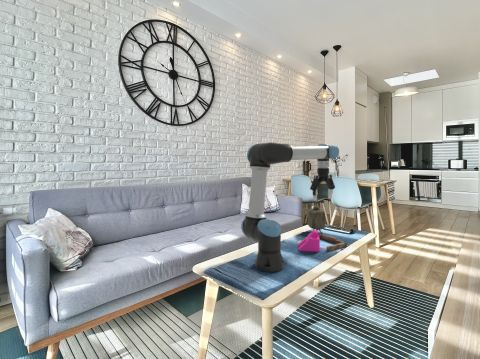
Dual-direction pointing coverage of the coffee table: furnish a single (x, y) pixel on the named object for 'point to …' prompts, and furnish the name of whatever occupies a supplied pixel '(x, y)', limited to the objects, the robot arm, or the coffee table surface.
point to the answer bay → (337, 245)
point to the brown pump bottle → (316, 218)
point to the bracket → (310, 242)
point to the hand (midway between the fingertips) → (322, 199)
